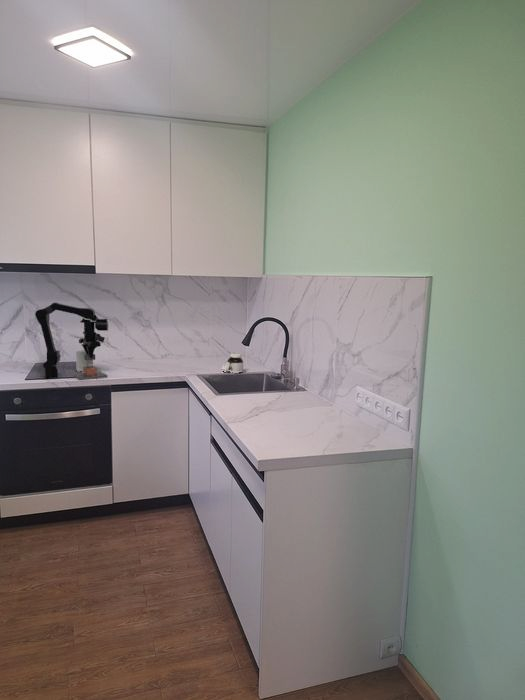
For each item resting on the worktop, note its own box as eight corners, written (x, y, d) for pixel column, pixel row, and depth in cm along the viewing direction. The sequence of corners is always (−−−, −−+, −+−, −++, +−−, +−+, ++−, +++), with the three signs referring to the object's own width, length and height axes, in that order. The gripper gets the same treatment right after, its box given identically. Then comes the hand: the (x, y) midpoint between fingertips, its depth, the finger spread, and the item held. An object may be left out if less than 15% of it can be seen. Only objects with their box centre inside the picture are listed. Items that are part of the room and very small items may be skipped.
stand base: (80, 380, 271) (80, 370, 270) (73, 376, 280) (72, 366, 279) (107, 377, 282) (107, 367, 281) (100, 374, 290) (99, 364, 290)
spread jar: (244, 372, 309) (245, 355, 308) (232, 375, 301) (233, 357, 299) (231, 370, 317) (231, 352, 315) (219, 372, 308) (219, 354, 306)
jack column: (86, 368, 277) (86, 355, 276) (84, 367, 280) (84, 354, 279) (95, 367, 281) (95, 354, 279) (93, 366, 283) (92, 353, 282)
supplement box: (87, 372, 295) (86, 351, 293) (76, 371, 296) (75, 351, 294) (93, 370, 302) (93, 350, 300) (82, 369, 303) (82, 349, 301)
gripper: (109, 331, 275) (109, 358, 277) (97, 328, 289) (97, 353, 292) (89, 332, 268) (90, 359, 270) (78, 328, 282) (78, 355, 285)
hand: (89, 357), depth 279 cm, fingers closed on jack column, 4 cm apart
